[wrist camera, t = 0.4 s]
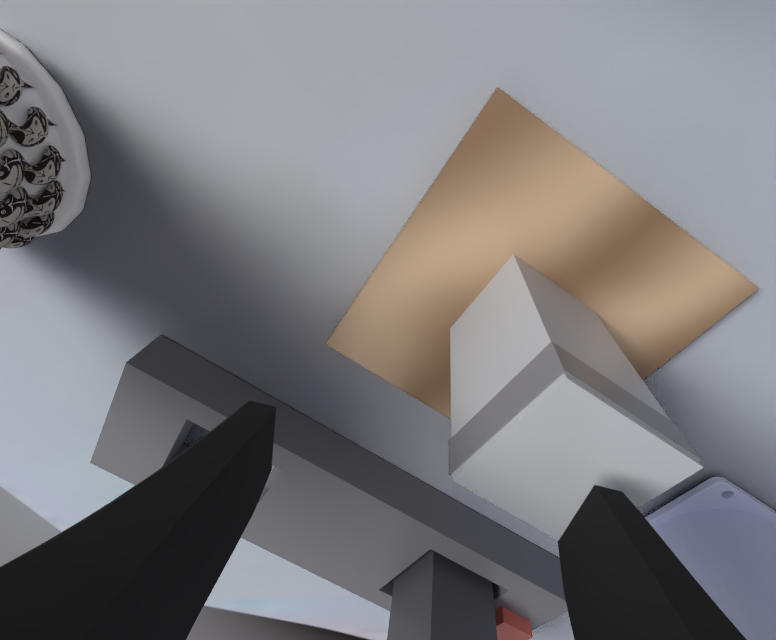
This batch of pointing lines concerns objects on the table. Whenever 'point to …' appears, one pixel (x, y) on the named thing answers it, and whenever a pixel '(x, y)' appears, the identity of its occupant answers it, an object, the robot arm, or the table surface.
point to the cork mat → (531, 256)
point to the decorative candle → (37, 150)
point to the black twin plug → (441, 602)
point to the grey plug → (552, 406)
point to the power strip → (324, 493)
